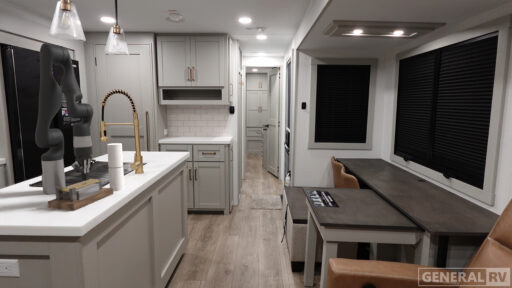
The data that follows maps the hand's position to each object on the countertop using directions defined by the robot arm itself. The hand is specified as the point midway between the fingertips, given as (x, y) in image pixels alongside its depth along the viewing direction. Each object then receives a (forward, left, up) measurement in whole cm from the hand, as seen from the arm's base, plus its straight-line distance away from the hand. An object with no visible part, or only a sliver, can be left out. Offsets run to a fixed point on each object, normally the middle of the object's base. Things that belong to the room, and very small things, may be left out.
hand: (85, 180), depth 136 cm
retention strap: (0, -3, -2) cm, 4 cm away
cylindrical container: (+3, +18, -10) cm, 20 cm away
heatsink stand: (0, -2, -9) cm, 10 cm away
